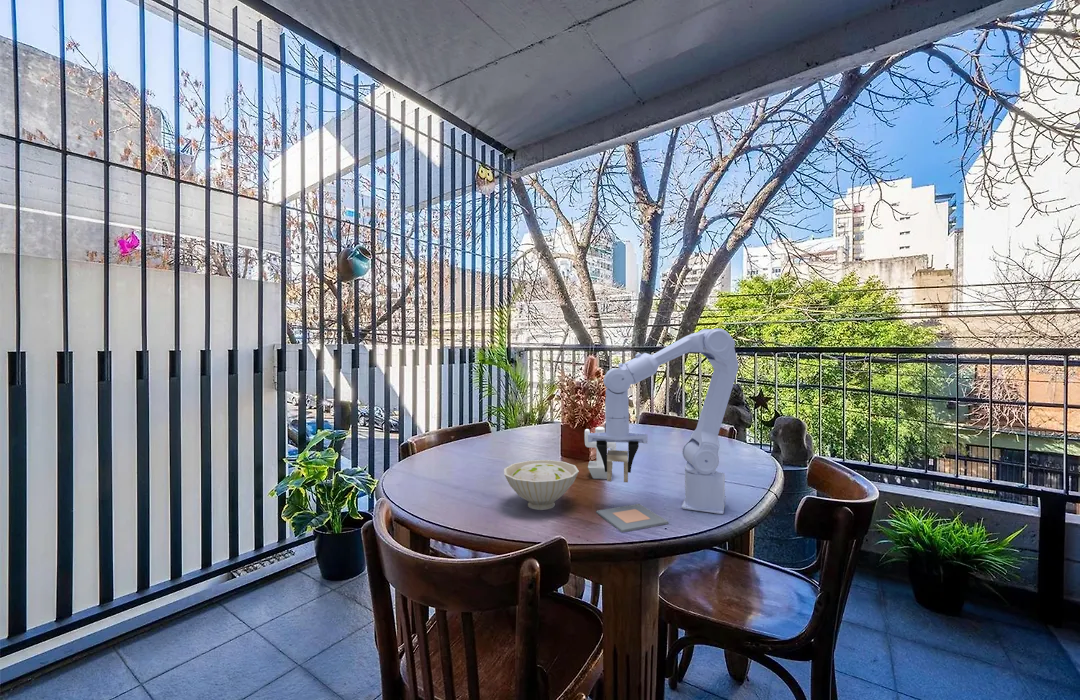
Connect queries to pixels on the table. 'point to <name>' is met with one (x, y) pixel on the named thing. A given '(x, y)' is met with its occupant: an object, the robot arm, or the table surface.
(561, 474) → the bowl
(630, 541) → the table surface
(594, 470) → the figurine
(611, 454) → the stool
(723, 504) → the robot arm
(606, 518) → the mat
